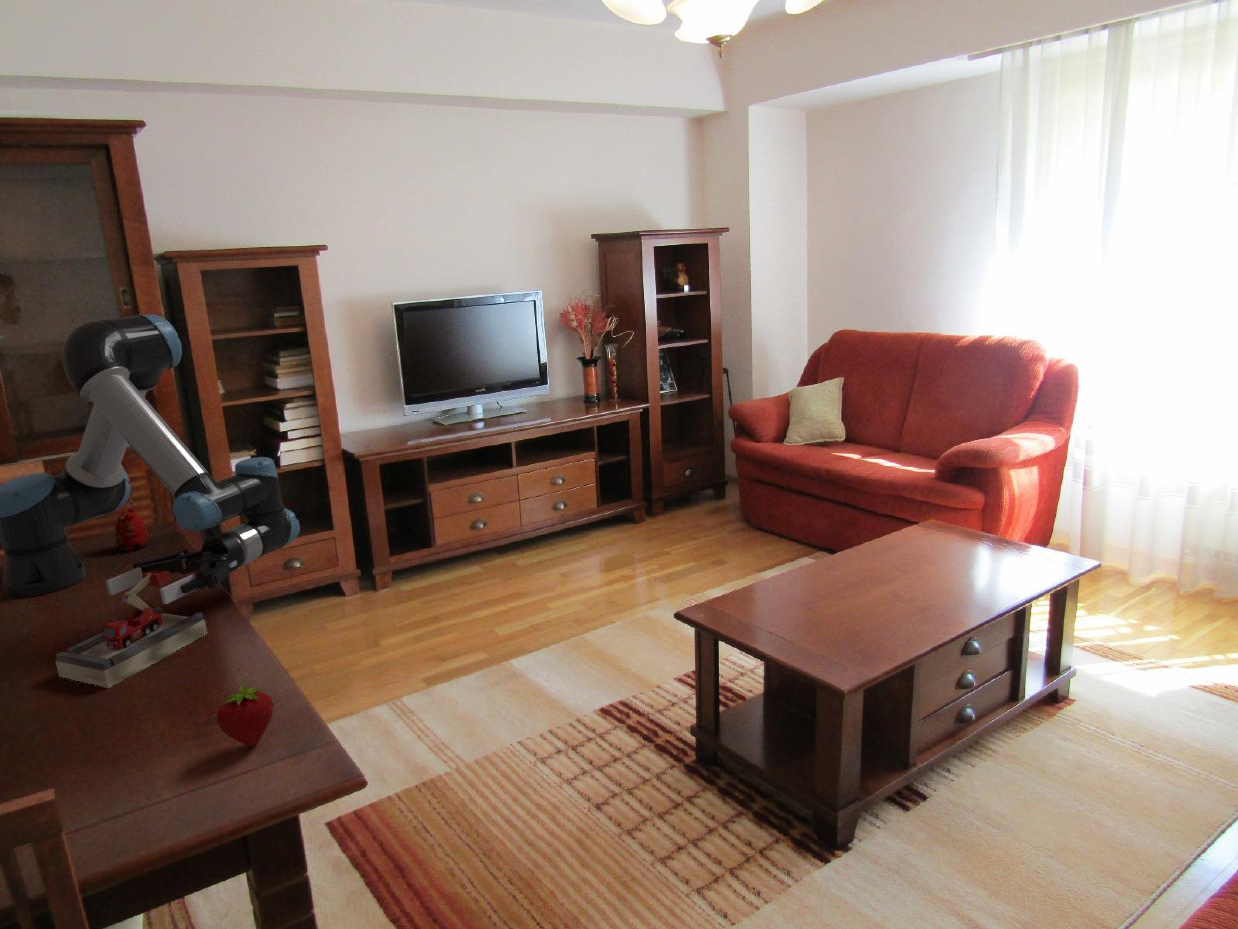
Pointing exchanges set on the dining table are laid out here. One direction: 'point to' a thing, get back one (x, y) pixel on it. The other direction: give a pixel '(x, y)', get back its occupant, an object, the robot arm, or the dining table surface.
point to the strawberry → (246, 715)
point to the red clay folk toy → (130, 530)
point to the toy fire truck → (136, 614)
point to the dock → (128, 651)
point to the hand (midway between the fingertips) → (135, 592)
